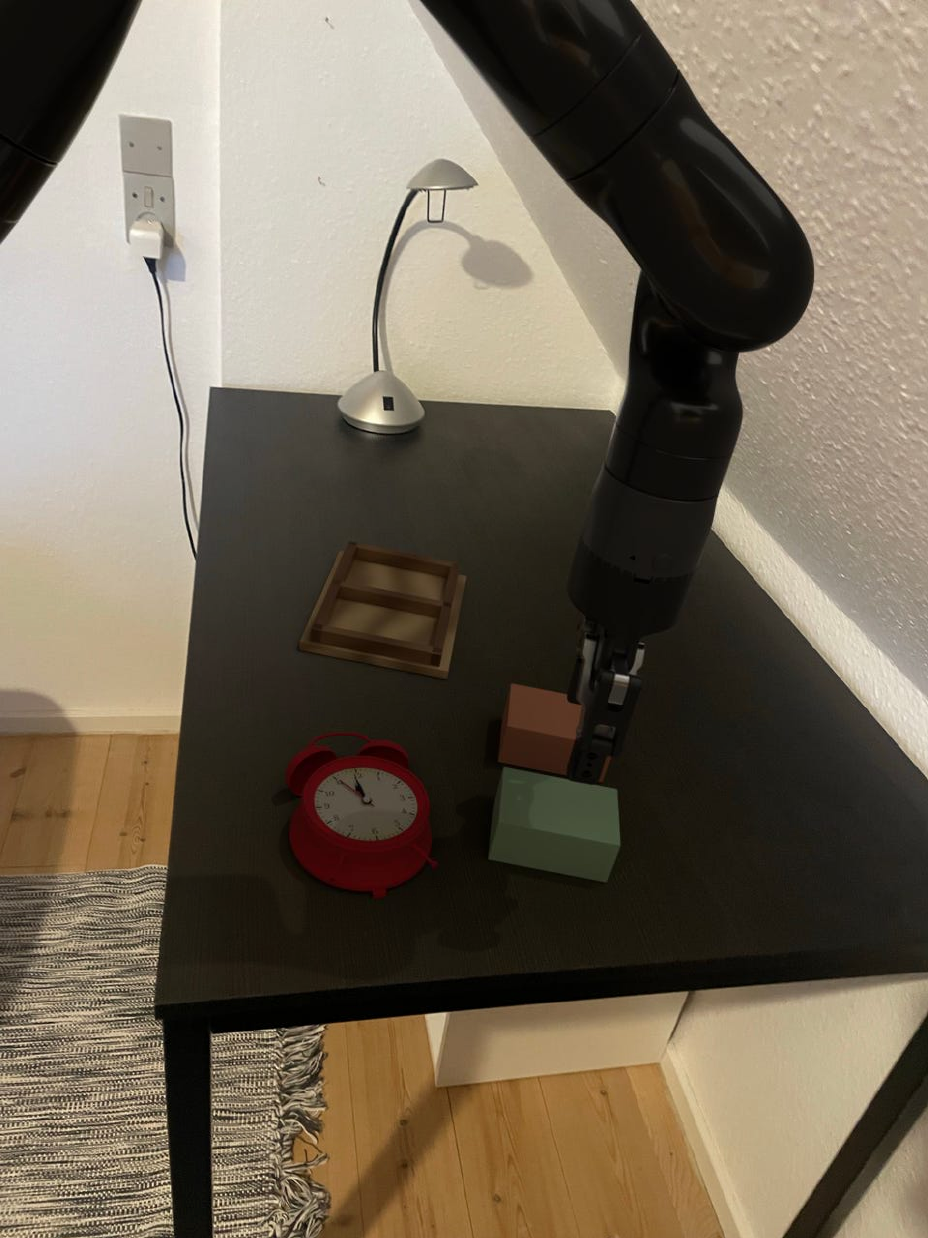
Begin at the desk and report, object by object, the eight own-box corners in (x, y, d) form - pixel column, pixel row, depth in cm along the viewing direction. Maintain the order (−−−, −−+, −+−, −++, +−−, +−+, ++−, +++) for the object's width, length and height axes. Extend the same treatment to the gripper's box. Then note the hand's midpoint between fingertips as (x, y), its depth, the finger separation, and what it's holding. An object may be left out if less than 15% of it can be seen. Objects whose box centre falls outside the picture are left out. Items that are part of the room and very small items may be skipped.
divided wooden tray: (298, 650, 87) (300, 627, 86) (338, 557, 103) (341, 537, 101) (446, 679, 88) (451, 658, 86) (465, 583, 103) (469, 563, 101)
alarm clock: (311, 881, 61) (277, 698, 70) (300, 926, 65) (268, 748, 74) (462, 860, 65) (410, 689, 74) (441, 903, 69) (395, 736, 78)
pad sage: (487, 859, 70) (498, 821, 68) (493, 803, 75) (503, 766, 73) (606, 883, 70) (620, 845, 68) (604, 825, 75) (617, 789, 73)
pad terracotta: (497, 762, 79) (507, 725, 77) (502, 718, 84) (511, 682, 82) (602, 783, 79) (614, 747, 77) (600, 737, 84) (612, 703, 82)
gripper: (580, 481, 64) (532, 671, 73) (583, 587, 52) (524, 798, 61) (688, 503, 64) (627, 689, 73) (715, 613, 52) (638, 820, 61)
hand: (580, 739), depth 67 cm, fingers open, 8 cm apart
